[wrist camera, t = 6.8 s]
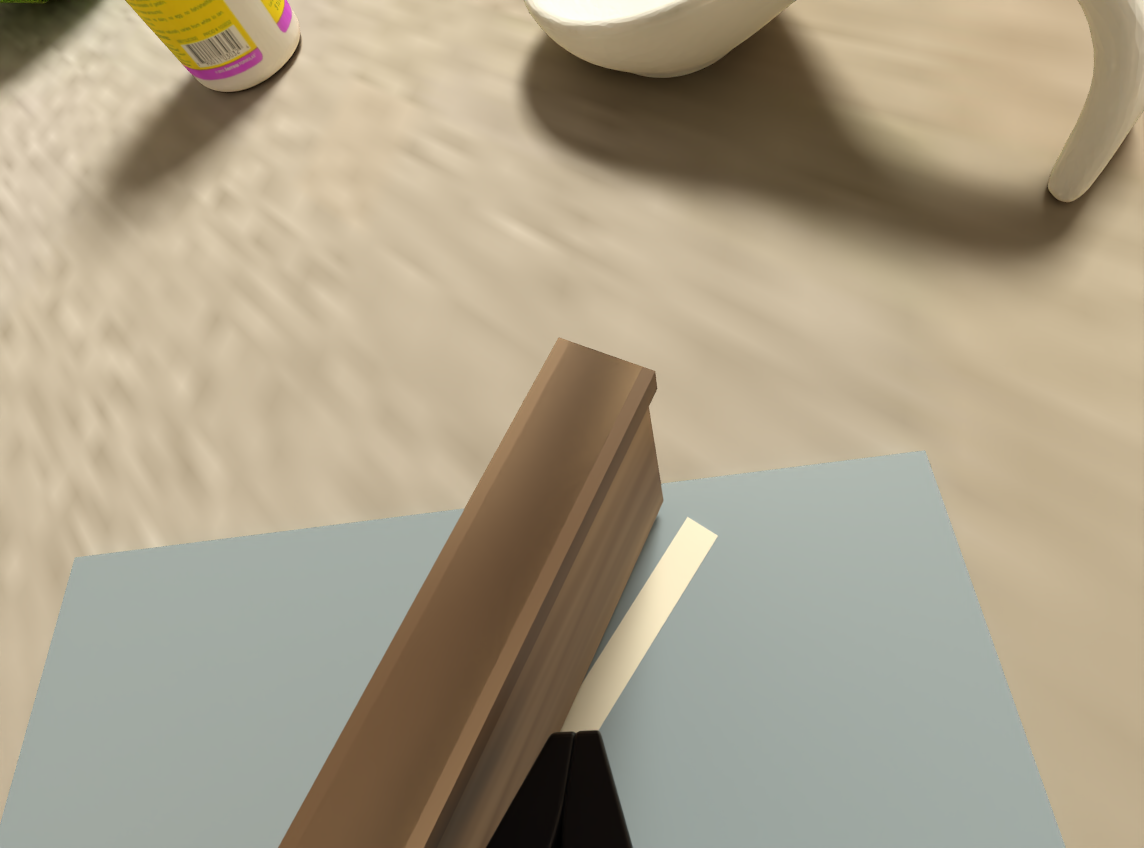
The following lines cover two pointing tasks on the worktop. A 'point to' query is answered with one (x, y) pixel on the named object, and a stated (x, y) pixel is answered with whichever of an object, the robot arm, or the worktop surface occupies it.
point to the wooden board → (499, 620)
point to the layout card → (605, 698)
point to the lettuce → (23, 1)
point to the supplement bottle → (224, 37)
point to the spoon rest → (747, 3)
